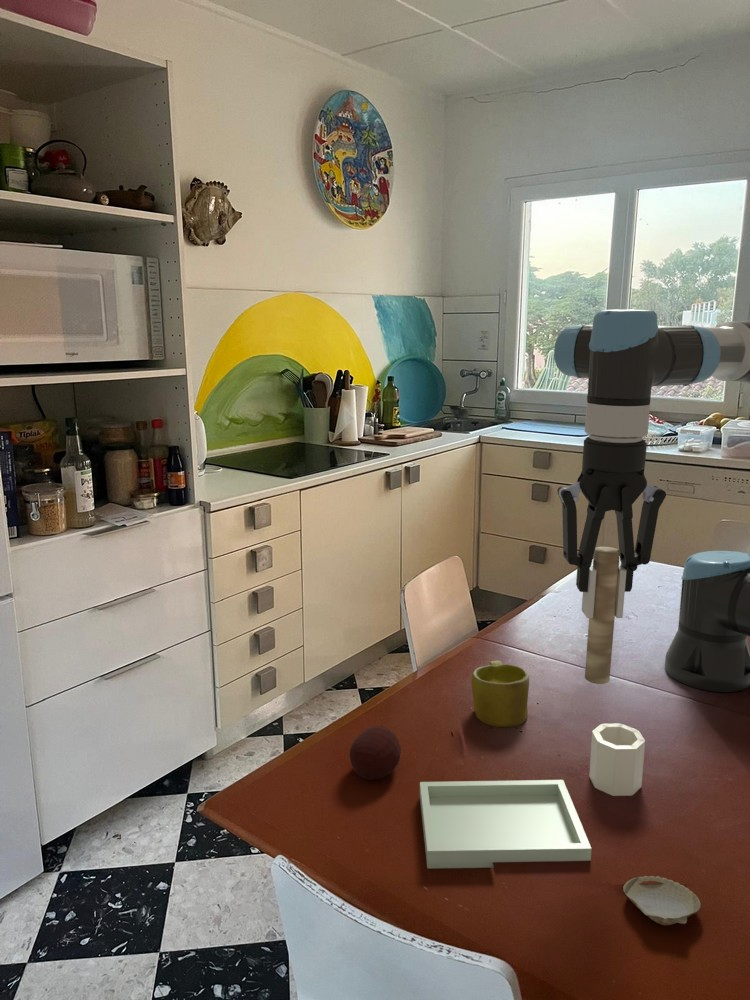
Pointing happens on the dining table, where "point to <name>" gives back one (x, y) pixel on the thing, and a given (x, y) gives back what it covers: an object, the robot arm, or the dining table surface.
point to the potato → (375, 753)
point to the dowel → (602, 616)
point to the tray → (500, 823)
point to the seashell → (662, 899)
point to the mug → (500, 694)
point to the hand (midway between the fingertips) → (601, 613)
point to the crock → (617, 759)
